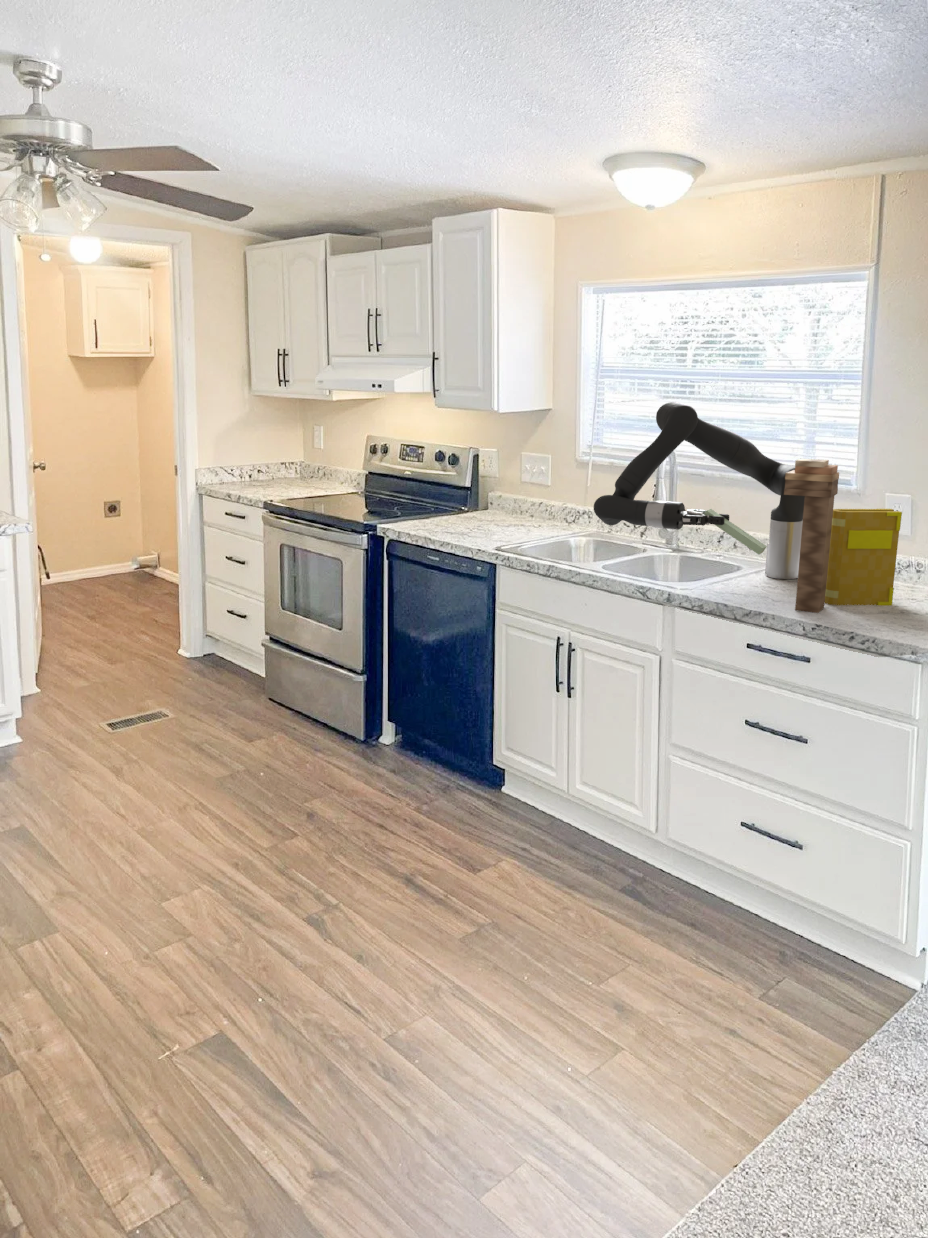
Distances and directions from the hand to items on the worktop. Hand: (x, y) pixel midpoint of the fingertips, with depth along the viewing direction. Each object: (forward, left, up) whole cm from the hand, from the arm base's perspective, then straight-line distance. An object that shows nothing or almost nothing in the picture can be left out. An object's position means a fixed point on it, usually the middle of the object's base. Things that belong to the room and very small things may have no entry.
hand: (726, 519), depth 279 cm
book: (+13, +33, -22) cm, 42 cm away
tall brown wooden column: (+15, +15, -22) cm, 30 cm away
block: (+1, +1, -4) cm, 4 cm away
